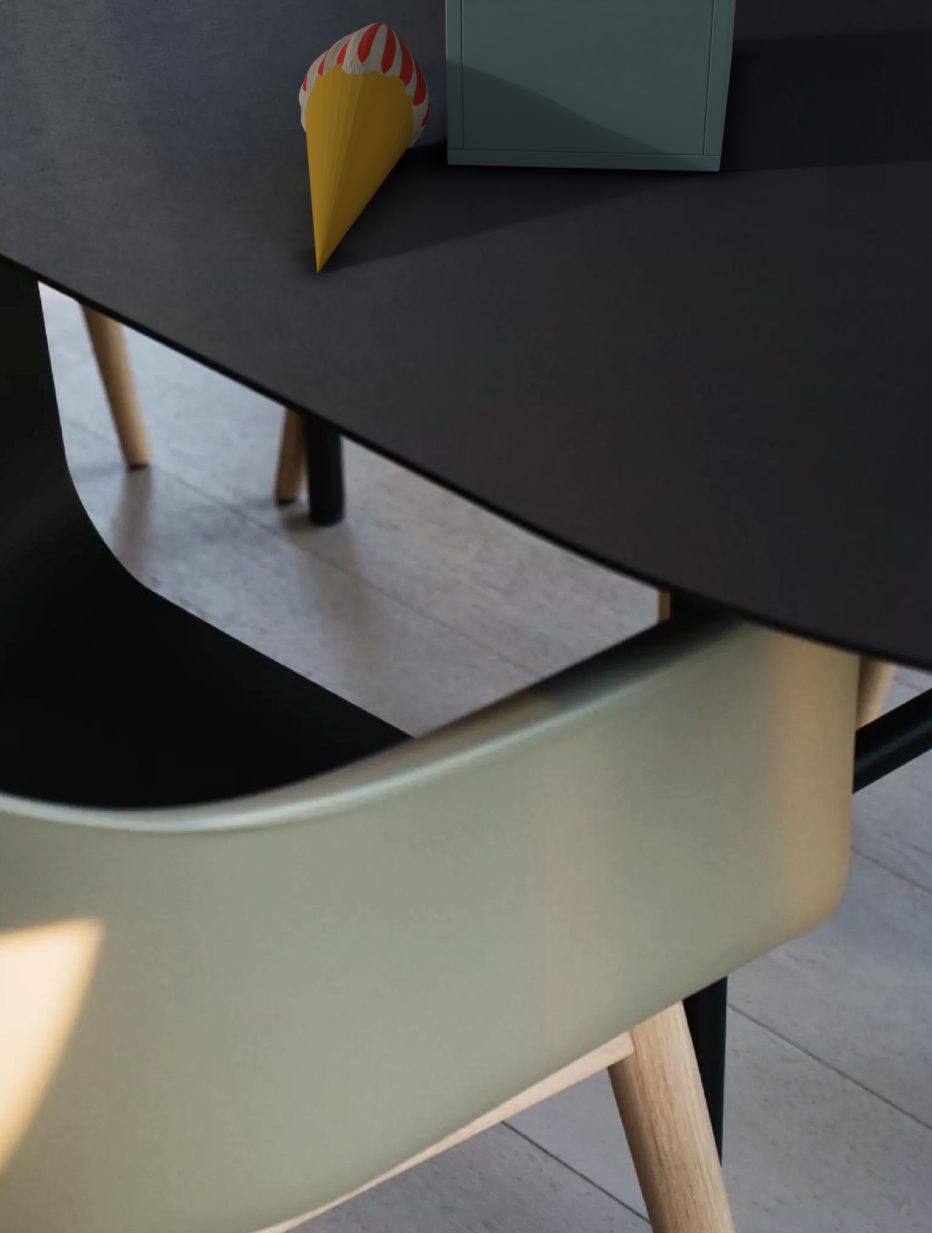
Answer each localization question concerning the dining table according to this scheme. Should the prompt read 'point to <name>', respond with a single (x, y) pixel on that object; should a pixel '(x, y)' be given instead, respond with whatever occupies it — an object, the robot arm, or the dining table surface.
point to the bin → (588, 83)
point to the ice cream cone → (358, 125)
